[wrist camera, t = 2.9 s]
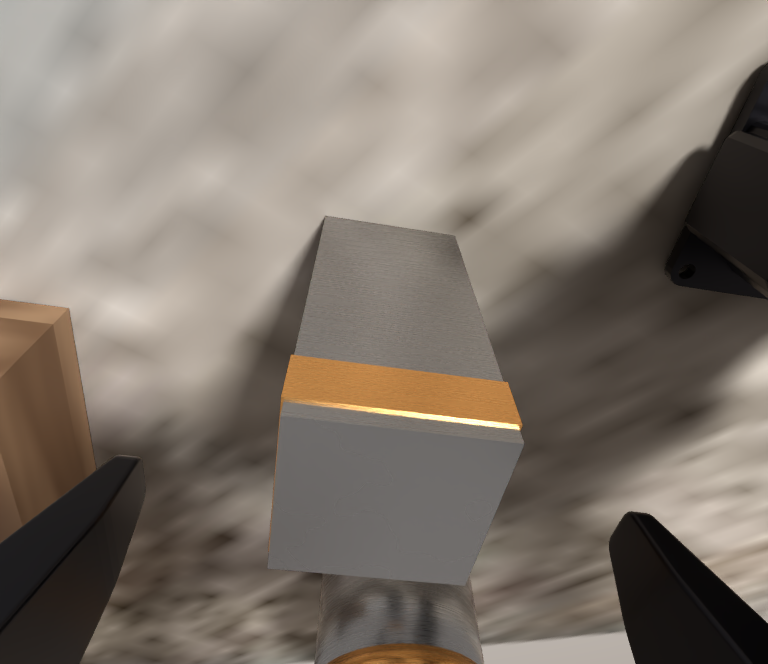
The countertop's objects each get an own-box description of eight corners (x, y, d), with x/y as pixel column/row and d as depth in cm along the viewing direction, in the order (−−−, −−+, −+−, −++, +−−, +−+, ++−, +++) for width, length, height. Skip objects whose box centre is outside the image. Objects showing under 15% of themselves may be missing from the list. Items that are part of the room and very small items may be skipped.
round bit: (483, 516, 23) (519, 692, 18) (448, 602, 27) (468, 772, 21) (332, 501, 23) (317, 678, 17) (316, 591, 26) (299, 764, 20)
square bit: (456, 234, 16) (528, 442, 9) (429, 344, 18) (466, 587, 11) (324, 214, 16) (277, 413, 8) (311, 328, 18) (264, 569, 10)
